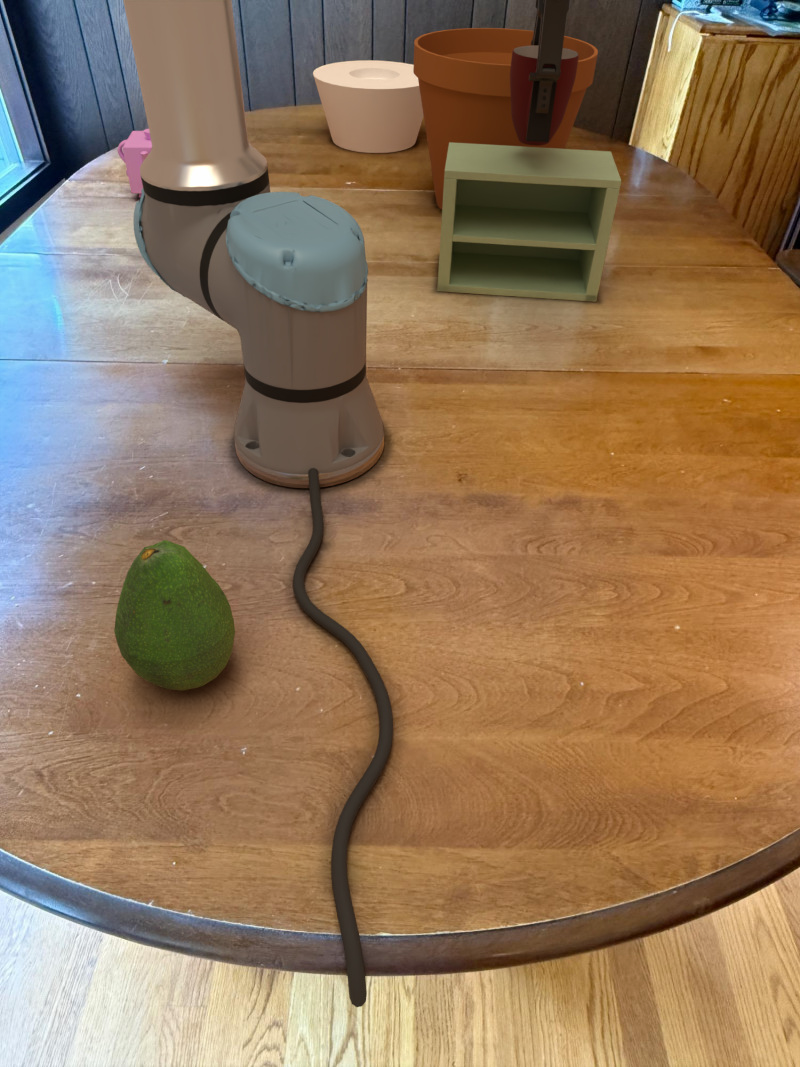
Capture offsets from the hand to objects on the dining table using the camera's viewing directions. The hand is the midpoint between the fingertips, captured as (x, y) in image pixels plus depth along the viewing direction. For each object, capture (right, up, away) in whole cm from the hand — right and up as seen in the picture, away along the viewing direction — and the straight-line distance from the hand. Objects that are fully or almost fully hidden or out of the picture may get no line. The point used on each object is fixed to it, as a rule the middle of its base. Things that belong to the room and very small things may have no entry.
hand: (535, 128), depth 98 cm
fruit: (-33, -62, -40) cm, 81 cm away
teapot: (-58, +10, +33) cm, 68 cm away
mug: (0, -2, +1) cm, 2 cm away
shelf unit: (-1, -15, +13) cm, 20 cm away
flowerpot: (-2, +6, +36) cm, 36 cm away
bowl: (-23, +29, +61) cm, 72 cm away
